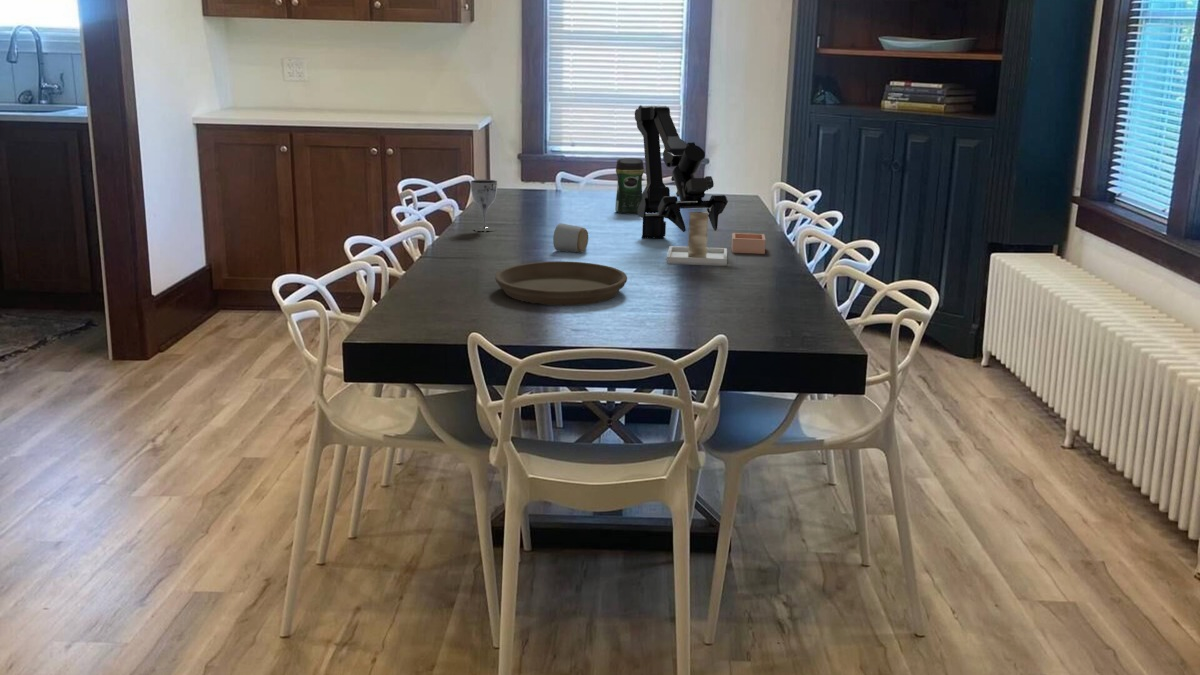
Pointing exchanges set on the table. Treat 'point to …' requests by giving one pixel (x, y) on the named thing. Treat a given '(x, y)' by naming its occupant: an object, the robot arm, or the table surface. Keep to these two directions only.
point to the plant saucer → (561, 282)
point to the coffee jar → (629, 185)
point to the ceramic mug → (570, 238)
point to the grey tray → (712, 258)
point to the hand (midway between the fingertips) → (700, 230)
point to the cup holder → (748, 243)
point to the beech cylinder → (698, 234)
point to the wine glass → (484, 195)
